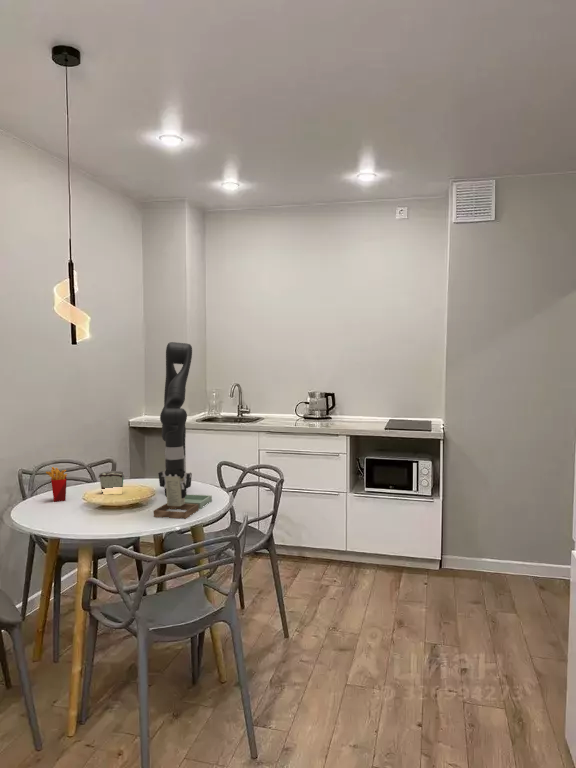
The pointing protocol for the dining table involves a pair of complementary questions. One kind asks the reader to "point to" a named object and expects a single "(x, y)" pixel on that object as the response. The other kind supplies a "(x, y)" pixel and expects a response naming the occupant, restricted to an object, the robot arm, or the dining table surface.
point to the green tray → (198, 499)
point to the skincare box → (174, 491)
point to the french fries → (58, 484)
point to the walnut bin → (173, 514)
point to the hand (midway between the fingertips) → (175, 497)
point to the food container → (111, 479)
